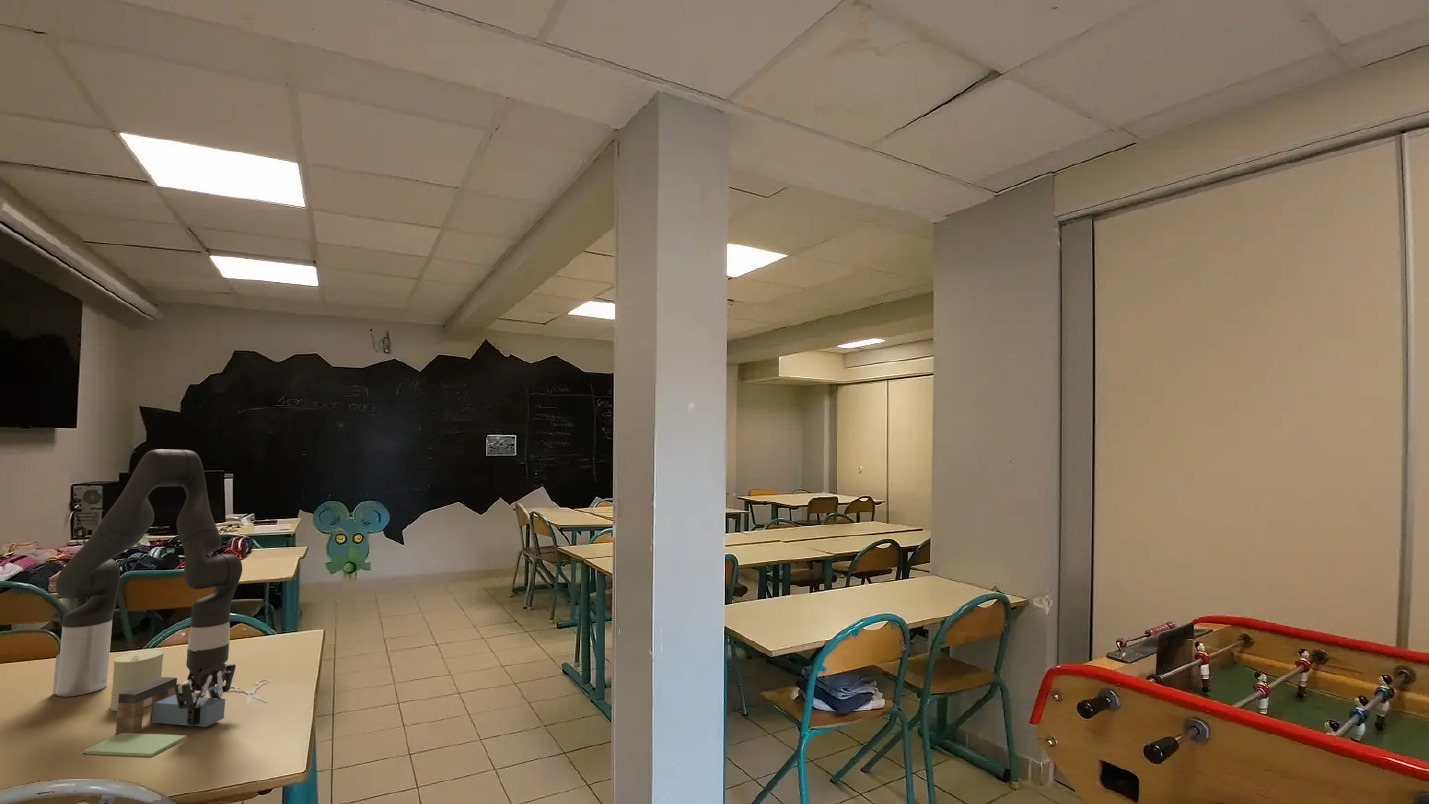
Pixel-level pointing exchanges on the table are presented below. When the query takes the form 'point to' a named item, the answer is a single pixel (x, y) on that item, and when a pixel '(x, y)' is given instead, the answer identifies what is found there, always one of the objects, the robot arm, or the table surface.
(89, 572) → the robot arm
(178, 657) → the table surface
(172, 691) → the block arch
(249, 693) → the scissors
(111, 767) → the table surface
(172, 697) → the blue slab
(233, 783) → the table surface
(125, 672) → the can
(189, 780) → the table surface
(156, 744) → the pad
